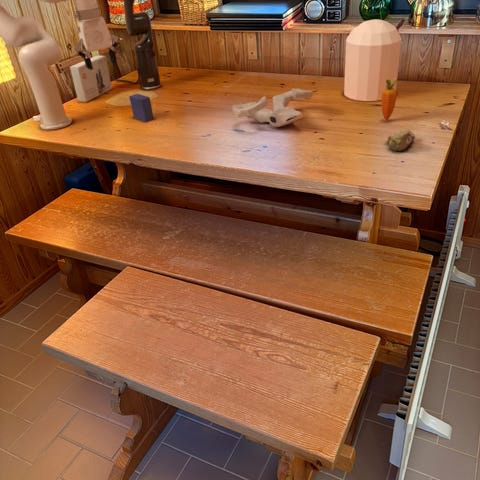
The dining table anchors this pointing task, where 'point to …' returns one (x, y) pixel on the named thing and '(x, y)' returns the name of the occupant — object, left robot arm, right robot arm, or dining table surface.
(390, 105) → the carrot
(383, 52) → the container
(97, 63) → the skincare box
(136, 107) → the block
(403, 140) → the rock
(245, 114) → the white branched piece
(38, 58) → the left robot arm
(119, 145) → the dining table surface
